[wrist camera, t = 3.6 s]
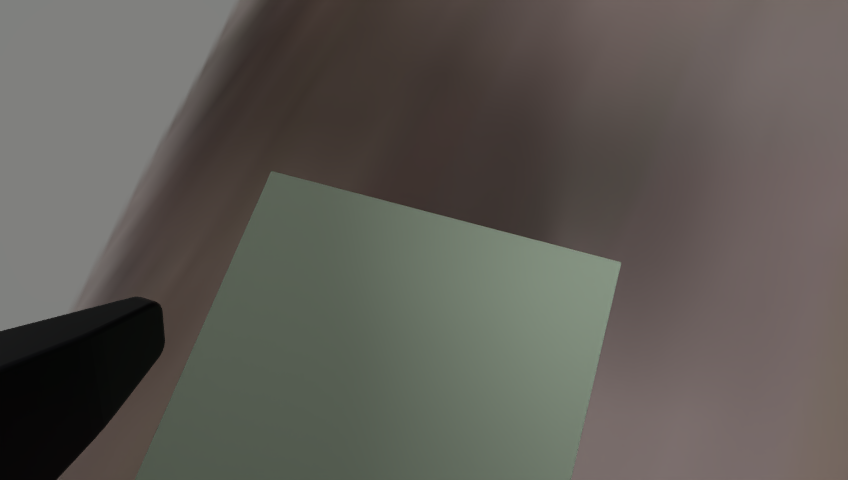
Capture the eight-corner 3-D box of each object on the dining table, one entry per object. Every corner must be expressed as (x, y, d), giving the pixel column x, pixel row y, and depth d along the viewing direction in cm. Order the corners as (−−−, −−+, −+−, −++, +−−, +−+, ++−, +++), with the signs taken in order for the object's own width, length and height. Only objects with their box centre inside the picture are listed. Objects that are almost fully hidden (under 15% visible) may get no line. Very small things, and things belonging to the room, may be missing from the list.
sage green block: (503, 541, 16) (518, 709, 5) (348, 483, 17) (110, 534, 6) (545, 377, 17) (620, 261, 7) (399, 332, 18) (271, 170, 8)
